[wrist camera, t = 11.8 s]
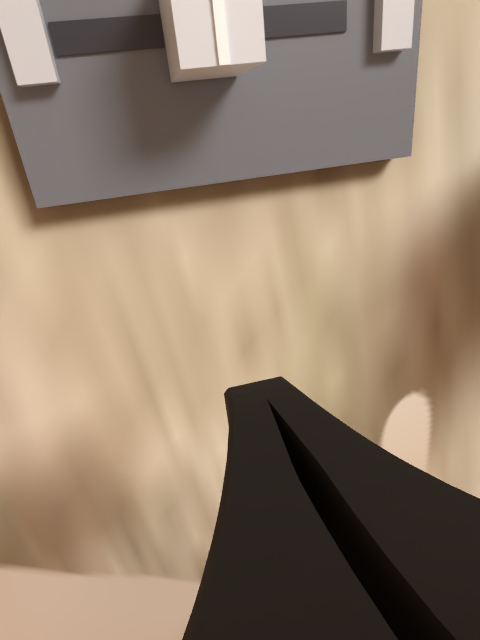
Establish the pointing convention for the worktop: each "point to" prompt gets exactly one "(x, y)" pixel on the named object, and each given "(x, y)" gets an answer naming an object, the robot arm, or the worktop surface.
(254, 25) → the cream slider knob
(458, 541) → the robot arm
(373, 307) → the worktop surface
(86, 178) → the fader console
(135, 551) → the worktop surface
